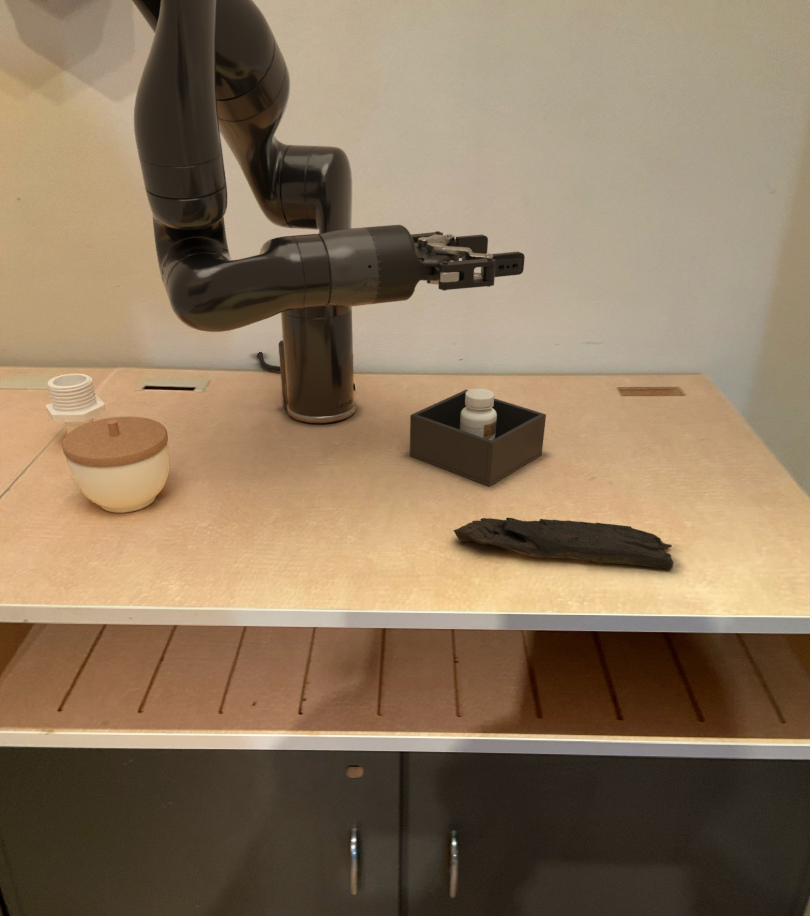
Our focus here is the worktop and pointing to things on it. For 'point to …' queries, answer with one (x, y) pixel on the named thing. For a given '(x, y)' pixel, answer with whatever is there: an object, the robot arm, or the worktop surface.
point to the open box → (476, 440)
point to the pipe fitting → (73, 400)
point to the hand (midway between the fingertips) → (503, 253)
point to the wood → (570, 540)
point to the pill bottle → (479, 414)
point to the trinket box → (119, 461)
